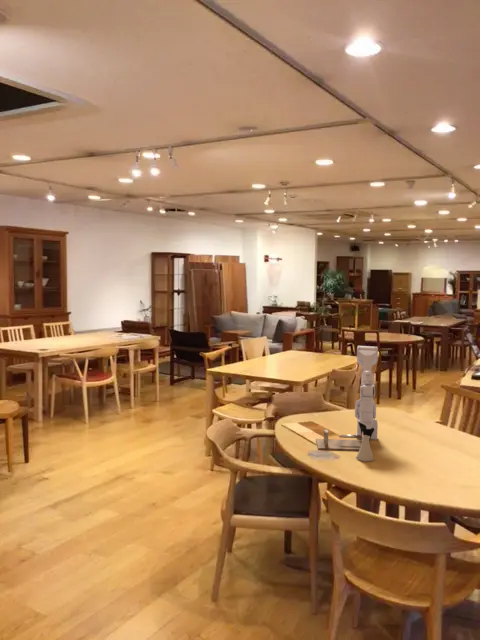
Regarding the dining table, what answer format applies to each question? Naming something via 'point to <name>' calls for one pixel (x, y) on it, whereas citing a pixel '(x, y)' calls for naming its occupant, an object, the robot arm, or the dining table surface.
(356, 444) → the board
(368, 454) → the flask
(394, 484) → the dining table surface
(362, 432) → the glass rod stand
